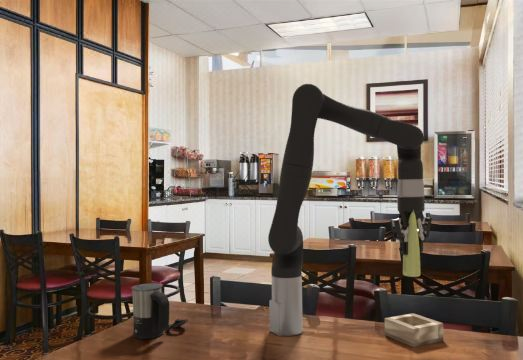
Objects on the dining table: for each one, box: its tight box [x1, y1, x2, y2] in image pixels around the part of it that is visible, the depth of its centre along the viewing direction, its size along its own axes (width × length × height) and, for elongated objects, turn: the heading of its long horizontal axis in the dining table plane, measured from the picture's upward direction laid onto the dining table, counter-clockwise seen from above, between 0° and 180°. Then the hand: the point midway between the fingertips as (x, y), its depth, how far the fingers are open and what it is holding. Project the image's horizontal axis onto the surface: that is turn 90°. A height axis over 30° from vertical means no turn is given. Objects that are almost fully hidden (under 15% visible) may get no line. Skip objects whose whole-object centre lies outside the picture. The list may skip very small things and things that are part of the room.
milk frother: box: [131, 283, 189, 340], centre depth 154 cm, size 14×16×15 cm
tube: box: [402, 210, 421, 278], centre depth 144 cm, size 6×5×20 cm
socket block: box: [384, 313, 444, 348], centre depth 144 cm, size 11×12×5 cm
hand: (411, 253), depth 144 cm, fingers closed on tube, 4 cm apart
